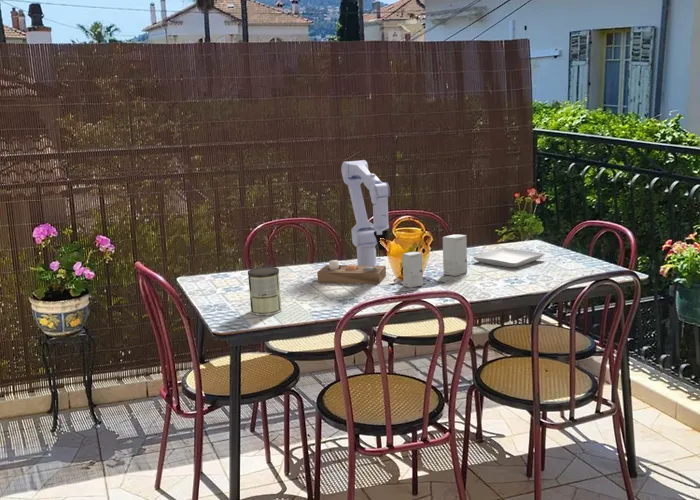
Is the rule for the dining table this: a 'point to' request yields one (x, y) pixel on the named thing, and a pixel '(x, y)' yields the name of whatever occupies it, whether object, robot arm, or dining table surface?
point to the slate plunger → (369, 268)
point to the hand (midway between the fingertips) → (382, 249)
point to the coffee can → (264, 290)
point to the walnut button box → (352, 275)
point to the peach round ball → (351, 267)
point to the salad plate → (508, 257)
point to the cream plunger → (334, 265)
